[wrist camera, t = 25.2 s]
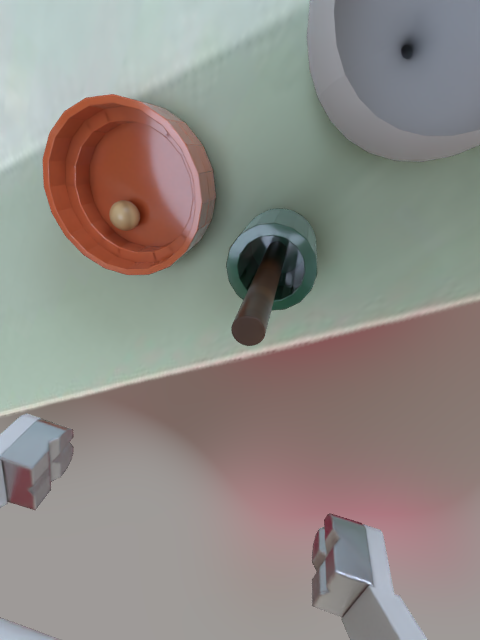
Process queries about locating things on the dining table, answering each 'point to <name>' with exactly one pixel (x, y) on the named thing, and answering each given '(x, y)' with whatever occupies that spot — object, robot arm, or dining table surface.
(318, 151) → the dining table surface
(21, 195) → the dining table surface
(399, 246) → the dining table surface
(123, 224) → the bead
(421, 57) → the chalice
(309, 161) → the dining table surface
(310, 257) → the utensil pot
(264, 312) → the stick
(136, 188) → the bowl
